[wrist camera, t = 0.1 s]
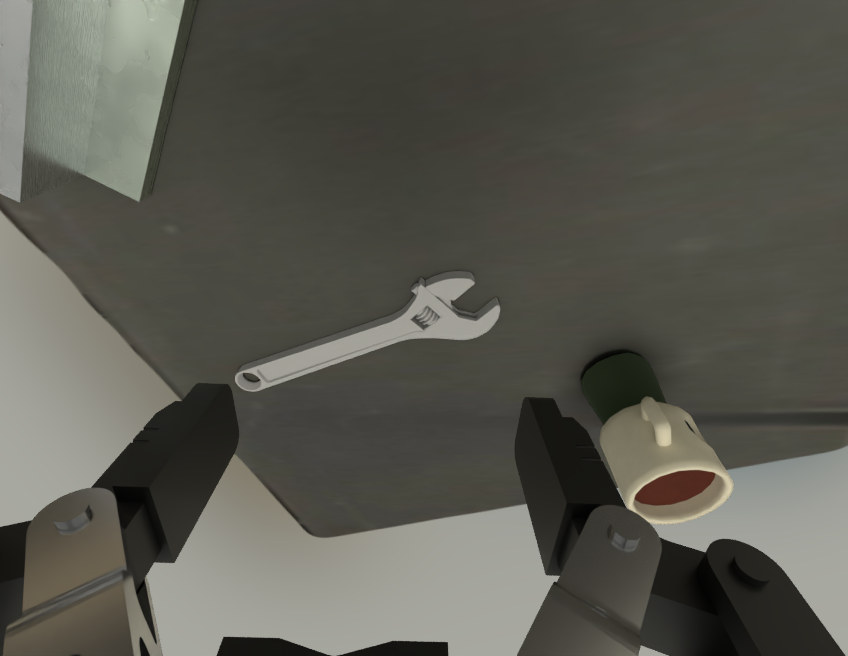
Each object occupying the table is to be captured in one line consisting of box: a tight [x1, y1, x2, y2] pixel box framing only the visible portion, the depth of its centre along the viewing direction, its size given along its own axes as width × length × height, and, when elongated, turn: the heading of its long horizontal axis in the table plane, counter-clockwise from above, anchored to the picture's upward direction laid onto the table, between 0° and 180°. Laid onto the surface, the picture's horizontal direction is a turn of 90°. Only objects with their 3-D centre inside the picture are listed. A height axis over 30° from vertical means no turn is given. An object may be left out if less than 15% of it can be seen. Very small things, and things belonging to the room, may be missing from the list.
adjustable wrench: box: [235, 271, 500, 392], centre depth 37 cm, size 25×6×2 cm, turn 108°
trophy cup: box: [581, 353, 734, 525], centre depth 35 cm, size 11×7×13 cm, turn 19°
